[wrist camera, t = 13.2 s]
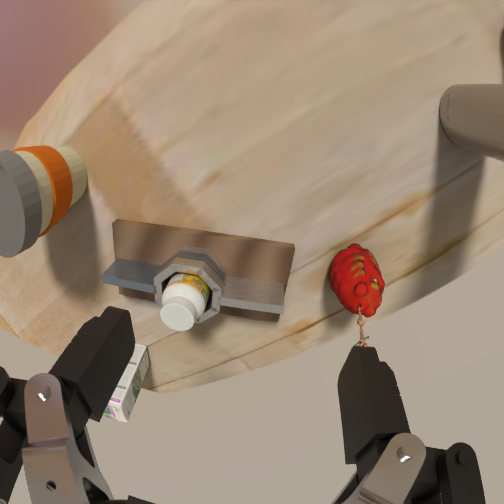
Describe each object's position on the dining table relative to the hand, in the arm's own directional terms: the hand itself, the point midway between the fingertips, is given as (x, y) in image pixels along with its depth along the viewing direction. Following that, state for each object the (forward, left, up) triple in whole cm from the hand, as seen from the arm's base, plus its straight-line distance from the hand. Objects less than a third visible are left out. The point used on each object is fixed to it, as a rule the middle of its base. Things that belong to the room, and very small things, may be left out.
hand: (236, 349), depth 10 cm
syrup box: (+19, +35, -28) cm, 49 cm away
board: (+7, +14, -28) cm, 32 cm away
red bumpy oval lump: (-14, +10, -28) cm, 33 cm away
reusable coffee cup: (+29, +2, -28) cm, 40 cm away
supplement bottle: (+7, +14, -27) cm, 31 cm away
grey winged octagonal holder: (+7, +14, -26) cm, 31 cm away
